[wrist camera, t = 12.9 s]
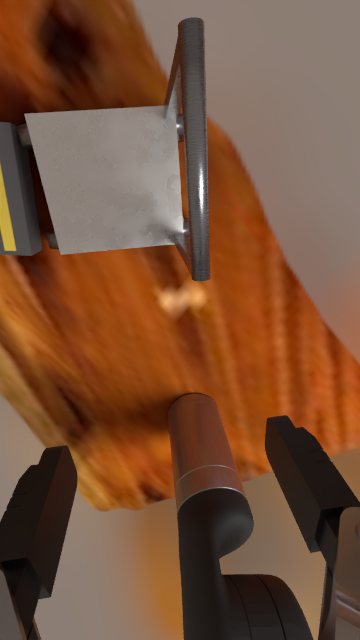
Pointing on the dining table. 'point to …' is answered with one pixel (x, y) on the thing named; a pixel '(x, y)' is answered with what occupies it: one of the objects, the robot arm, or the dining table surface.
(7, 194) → the block
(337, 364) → the dining table surface
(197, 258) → the trolley
